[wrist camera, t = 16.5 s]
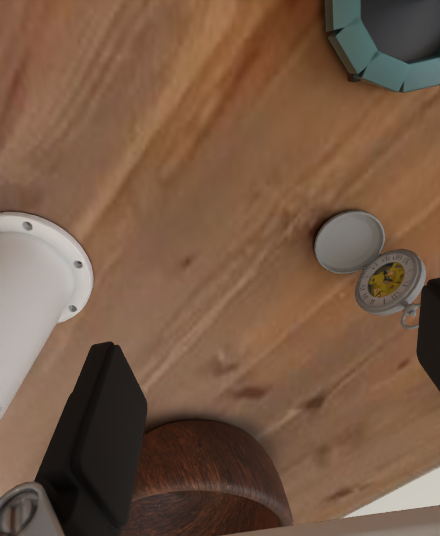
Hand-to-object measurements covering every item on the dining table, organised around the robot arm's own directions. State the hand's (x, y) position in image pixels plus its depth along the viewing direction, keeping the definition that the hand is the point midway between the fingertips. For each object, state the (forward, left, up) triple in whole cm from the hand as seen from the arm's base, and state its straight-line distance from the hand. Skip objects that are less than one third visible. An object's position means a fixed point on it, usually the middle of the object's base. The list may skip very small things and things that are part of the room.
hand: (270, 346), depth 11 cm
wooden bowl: (-14, -42, -23) cm, 50 cm away
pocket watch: (+10, -11, -23) cm, 27 cm away
